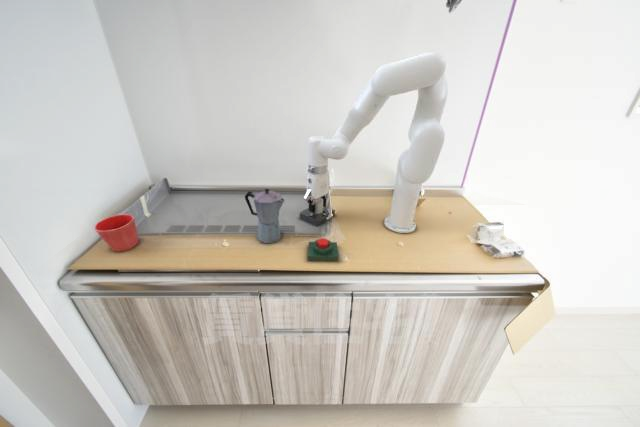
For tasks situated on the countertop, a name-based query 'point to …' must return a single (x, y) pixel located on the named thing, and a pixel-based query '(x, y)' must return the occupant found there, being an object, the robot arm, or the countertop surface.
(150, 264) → the countertop surface
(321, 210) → the stove knob
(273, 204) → the moka pot
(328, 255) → the button block
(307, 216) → the stove panel
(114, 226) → the flower pot
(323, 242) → the button
